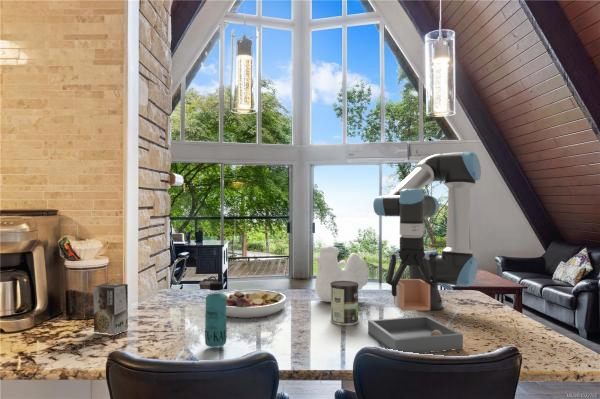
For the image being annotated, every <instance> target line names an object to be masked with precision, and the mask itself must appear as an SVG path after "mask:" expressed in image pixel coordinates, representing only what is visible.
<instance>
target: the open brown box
mask: <svg viewBox="0 0 600 399" xmlns="http://www.w3.org/2000/svg"><path fill="white" fill-rule="evenodd" d="M397 286H399V307H398V308H399V309H400V310H401V311H402V312H403V311H404V312H405V311H407V312H408V311H409V312H411V311H412V312H413V311H417V312H418V311H431V310H430V284H428V283H426V282H424V281H422V280H421V279H406V278H405V279H401V278H400V280H399V282H398V284H397ZM393 304H394V305H395V296H393Z"/></svg>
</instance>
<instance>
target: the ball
mask: <svg viewBox="0 0 600 399" xmlns="http://www.w3.org/2000/svg"><path fill="white" fill-rule="evenodd" d="M433 335H442V333H441V332H440V331H439V330H434V331H432V332H431V336H433Z"/></svg>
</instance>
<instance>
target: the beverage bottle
mask: <svg viewBox="0 0 600 399" xmlns="http://www.w3.org/2000/svg"><path fill="white" fill-rule="evenodd" d="M208 290H209V291H213V292H210V293H209V294H207V295H206V296H205V315H204V324H205V325H204V343H205V346H206V347H209V348H218V347H222V346H224V345H226V344H227V338H228V337H227V336H228V335H227V333H228V328H227V321H228V320H227V319H228V316H226V299H227V297H226V295H225V294H223V293H224V292H220V291H222V290H224V283H223V282H222V281H211V282H209V288H208Z"/></svg>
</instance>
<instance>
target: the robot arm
mask: <svg viewBox="0 0 600 399" xmlns="http://www.w3.org/2000/svg"><path fill="white" fill-rule="evenodd" d="M481 168H482V166H481V163H480V160H479V157H478V155H477V154H476V153H475V152H474V151H456V152H444V153H441V152H440V153H435V154H432V155H430V156H427V157H426V158H423V159H422V160H421V161H418V162H417V163H416V164H415V165H414V166H413V168H412V170H411V172H410V173H409V174H408V175H407V176H406V177H405V178H404V179H403V180H401V182H400V183H398V184H397V185H396V186H395V187H394V188H393V189H392V190H391V191H390V192H389V193H387V194H386V195H384V194H382V195H378V196H376V197H375V198H374V201H373V202H372V203H373V211H374V213H375V215H376V216H381V217H399V235H400V237H399V252H398V253H393V252H391V253H390V254H389V259H390V262H389V264H388V269H387V275H386V280H385V283H386V284H388V285H389V286H391V295H392V296H393V297H394V296H395V304H394V306H395V307H396V308H399V286H397V284H398V282H399V280H400V279H401V278H402V276H403V273H405V270H406V269H407V267H408V272H409V273H408V276H409V277H408V278H409V279H421V280H422V281H424V282H426V283H428V284H430V310H429V311H437V310H441V309H443V300H442V296H441V293H440V291H439V284H442V285H443V284H444V285H451V286H457V287H470V286H472V285H473V283H474V281H475V279H476V278H477V274H478V268H479V267H478V266H479V265H478V263H479V262H478V259H477V257H476V258H475V257H474V252H473V251H472V249H470V227H471V226H470V225H471V221H470V220H471V200H472V198H471V195H472V189H473V188H474V187H475V186H476V181H479V180H480V179H481V175H482V170H481ZM432 182H444V185H445V187H447V189H448V191H447V194H448V196H447V213H446V214H447V215H446V216H447V217H446V218H447V220H446V243H445V247H444V248H443V249H442V250H441V254H439V251H438V250H433V249H432V250H424V249H425V248H424V246H425V245H424V244H425V242H424V241H425V239H424V237H423V236H424V234H425V233H424V227H425V226H424V223H425V222H424V221H425V220H424V219H425V218H430V217H434V216H436V215H437V213H438V212H439V209H440V203H439V201H438V199H437V198H436V197H435V196H433V195H430V194H429V195H428V194H427V195H426V194H425V193H424V190H423V189H424V187H425V186H427V185H430V184H431V183H432ZM399 258H400V260H401V261H400V263H399V266H398V268H397V270H396V272H395V269H396V264H397V261H398V259H399Z"/></svg>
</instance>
